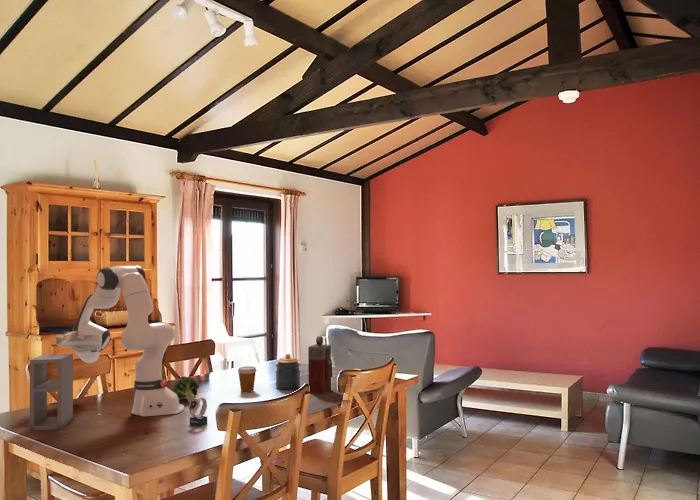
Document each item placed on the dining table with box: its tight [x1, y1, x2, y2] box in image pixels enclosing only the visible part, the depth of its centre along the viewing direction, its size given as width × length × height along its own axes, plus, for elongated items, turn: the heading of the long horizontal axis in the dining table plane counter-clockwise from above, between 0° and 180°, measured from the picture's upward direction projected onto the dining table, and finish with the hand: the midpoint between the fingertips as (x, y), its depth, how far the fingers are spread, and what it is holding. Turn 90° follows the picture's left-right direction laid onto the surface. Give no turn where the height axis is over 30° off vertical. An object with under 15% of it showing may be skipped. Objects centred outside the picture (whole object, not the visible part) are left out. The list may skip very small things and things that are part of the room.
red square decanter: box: [307, 335, 333, 395], centre depth 297 cm, size 9×11×28 cm
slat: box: [55, 331, 79, 345], centre depth 258 cm, size 2×22×3 cm, turn 7°
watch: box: [188, 396, 208, 428], centre depth 238 cm, size 6×8×11 cm
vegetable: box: [171, 376, 200, 404], centre depth 280 cm, size 12×13×15 cm
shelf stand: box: [29, 353, 74, 431], centre depth 242 cm, size 12×18×28 cm, turn 7°
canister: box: [275, 353, 301, 390], centre depth 307 cm, size 13×13×18 cm
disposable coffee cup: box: [237, 365, 257, 393], centre depth 298 cm, size 10×10×12 cm
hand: (73, 334), depth 266 cm, fingers closed on slat, 2 cm apart
